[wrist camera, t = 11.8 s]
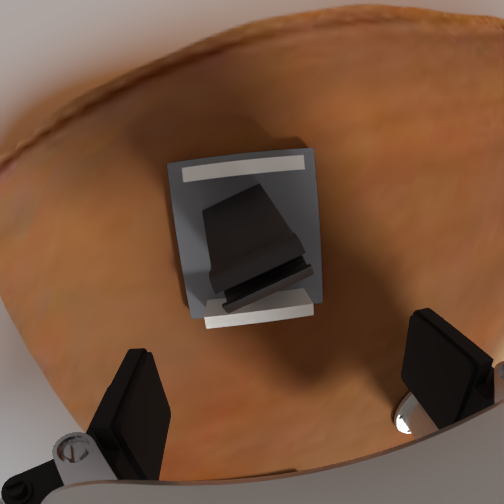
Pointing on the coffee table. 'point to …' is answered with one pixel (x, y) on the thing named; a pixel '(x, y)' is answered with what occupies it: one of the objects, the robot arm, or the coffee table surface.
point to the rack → (224, 186)
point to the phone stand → (251, 249)
